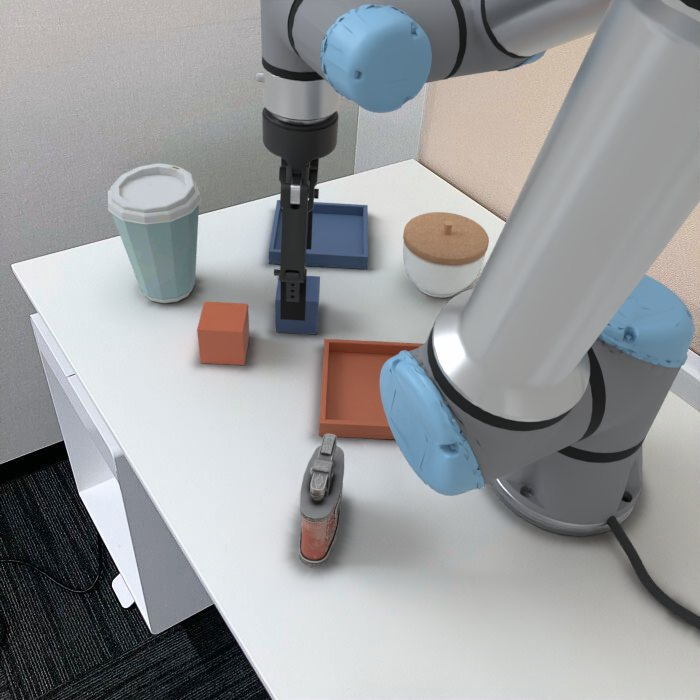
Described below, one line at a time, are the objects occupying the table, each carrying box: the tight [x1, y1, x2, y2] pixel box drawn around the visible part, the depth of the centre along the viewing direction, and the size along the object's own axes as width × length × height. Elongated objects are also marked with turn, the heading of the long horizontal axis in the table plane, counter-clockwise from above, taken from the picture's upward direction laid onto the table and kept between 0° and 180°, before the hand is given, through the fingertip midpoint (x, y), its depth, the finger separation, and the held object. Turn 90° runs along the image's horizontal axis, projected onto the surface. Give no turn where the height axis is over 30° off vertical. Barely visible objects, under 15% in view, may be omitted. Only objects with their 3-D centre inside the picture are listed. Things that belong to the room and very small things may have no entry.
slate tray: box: [268, 199, 369, 270], centre depth 103 cm, size 13×13×2 cm
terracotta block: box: [196, 301, 250, 366], centre depth 84 cm, size 5×5×5 cm
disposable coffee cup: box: [107, 162, 202, 304], centre depth 89 cm, size 11×11×15 cm
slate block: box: [274, 275, 321, 335], centre depth 89 cm, size 5×5×5 cm
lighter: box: [298, 434, 345, 568], centre depth 65 cm, size 8×3×10 cm, turn 170°
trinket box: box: [402, 211, 490, 299], centre depth 95 cm, size 11×11×9 cm
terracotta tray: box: [318, 338, 424, 440], centre depth 81 cm, size 13×13×2 cm
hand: (296, 280), depth 87 cm, fingers open, 13 cm apart
